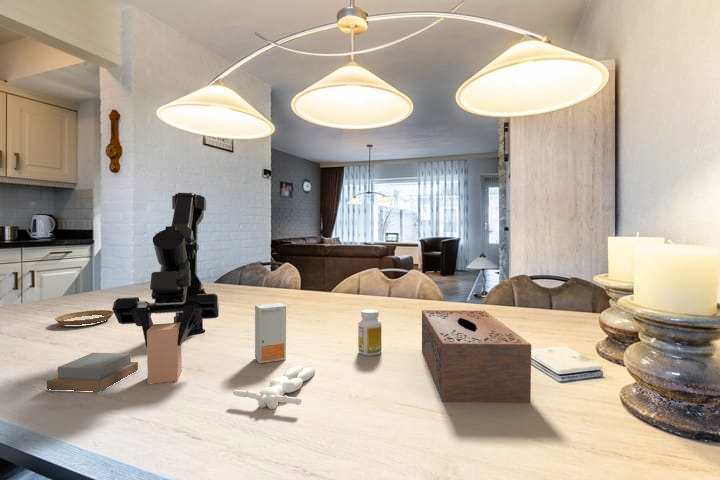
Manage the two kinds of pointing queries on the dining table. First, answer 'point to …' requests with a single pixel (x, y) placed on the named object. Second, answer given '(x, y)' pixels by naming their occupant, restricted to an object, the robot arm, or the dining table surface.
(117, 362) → the tower top slab
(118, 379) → the tower base slab
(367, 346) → the supplement bottle
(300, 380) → the decorative figure
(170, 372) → the terracotta block
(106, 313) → the plant saucer
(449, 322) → the tissue box cover
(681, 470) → the dining table surface
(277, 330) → the skincare box
